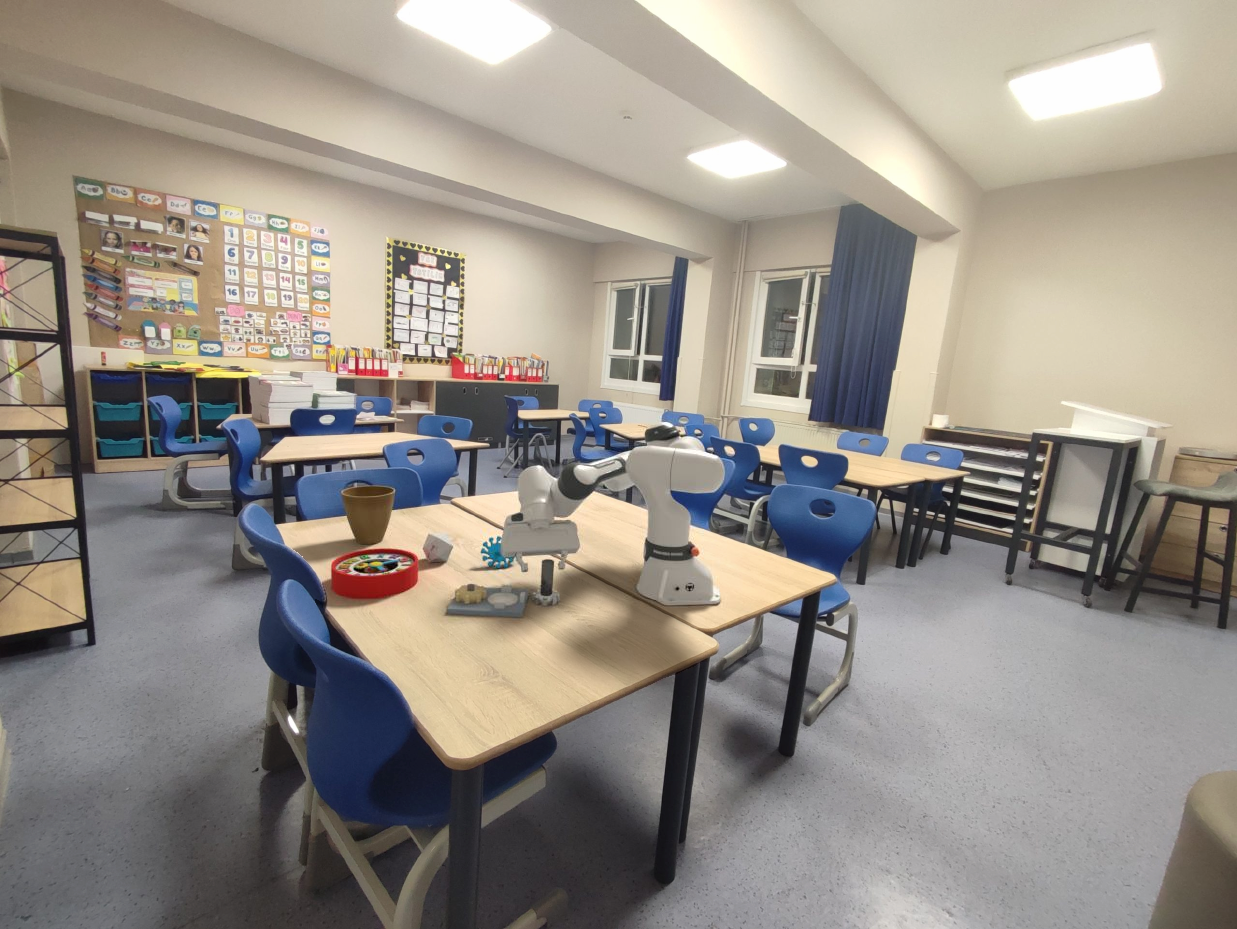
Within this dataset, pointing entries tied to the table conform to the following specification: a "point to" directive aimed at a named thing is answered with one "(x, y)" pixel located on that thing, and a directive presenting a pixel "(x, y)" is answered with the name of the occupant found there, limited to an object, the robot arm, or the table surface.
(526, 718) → the table surface
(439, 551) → the die
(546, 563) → the gear
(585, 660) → the table surface
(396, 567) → the toy clock
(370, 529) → the plant pot
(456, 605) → the gear board
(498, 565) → the virus model
